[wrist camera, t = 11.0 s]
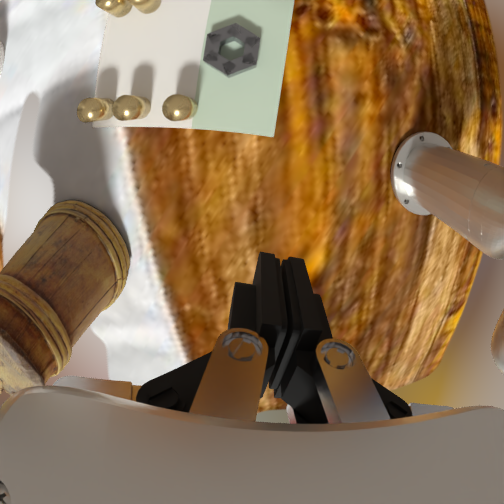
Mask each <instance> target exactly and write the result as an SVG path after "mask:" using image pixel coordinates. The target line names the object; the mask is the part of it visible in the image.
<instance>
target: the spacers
mask: <svg viewBox="0 0 504 504" xmlns="http://www.w3.org/2000/svg"><path fill="white" fill-rule="evenodd" d="M160 4H161V0H96V5H97V6H98V7H99V8H101V9H103V10H104V11H106V12H108V13H110V14H111V15H113V16H115V17H118V18H119V17H123V16H125V15H127V14H128V13H129V12H130V11H131V9H132V6H134V7H135V8H137V9H138V10H139V11H140V12H141V13H144V14H149V13H152V12H154V11H156V10H157V9H158V8H159V7H160ZM150 110H151V103H150V101H149V100H148V99H147V98H146V97H142V96H133V95H122V96H120V97H118V98H117V99H116V100H115V102H114V101H113V100H112V99H109V98H86V99H84V100H82V101H81V102H80V104H79V106H78V108H77V116H78V118H79V120H80V121H82V122H85V123H87V122H94V121H102V120H108V119H110V118H111V117H112V116H113V115H114V117H115V118H116V119H118V120H120V121H126V120H136V119H143V118H145V117H146V116H147V115H148V114H149V112H150ZM197 111H198V105H197V102H196V101H195V100H194V99H193V98H191V97H187V96H184V95H180V94H174V95H171V96H169V97H168V98H167V99H166V100H165V101H164V103H163V106H162V112H163V114H164V116H165V117H166V118H167V119H168V120H170V121H183V120H189V119H191V118H193V117H194V116H195V115H196V113H197Z"/></svg>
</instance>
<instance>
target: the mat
mask: <svg viewBox="0 0 504 504" xmlns="http://www.w3.org/2000/svg"><path fill="white" fill-rule="evenodd" d="M293 6H294V0H161V4H160V7H159V8H158V9H157V10H156V11H154V12H152V13H149V14H144V13H141V12H140V11H139V10H138V9H137V8H135V7H134V6H132V9H131V11H130V12H129V13H128V14H127V15H125V16H123V17H119V18H118V17H115V16H113V15H111V14H110V13H109V14H108V18H107V23H106V27H105V32H104V37H103V42H102V47H101V53H100V59H99V65H98V72H97V80H96V89H95V98H109V99H112V100H113V101H114V102H115V100H116V99H117V98H118V97H120V96H122V95H133V96H142V97H146V98H147V99H148V100H149V101H150V103H151V110H150V112H149V114H148V115H147V116H146V117H145V118H143V119H136V120H126V121H120V120H118V119H116V118H115V117H114V115H113V116H112V117H111V118H110V119H108V120H102V121H94V122H93V128H101V127H172V128H192V129H206V130H218V131H228V132H237V133H246V134H254V135H261V136H268V137H274V132H275V125H276V119H277V112H278V106H279V99H280V93H281V86H282V79H283V73H284V66H285V60H286V53H287V46H288V40H289V33H290V26H291V20H292V13H293ZM234 23H237V24H238V25H240V26H242V27H244V28H245V29H247V30H248V31H250V32H252V33H253V34H255V35H256V36H258V37H260V38H261V39H260V45H259V52H258V58H257V66H256V68H254V69H251V70H248V71H246V72H243V73H240V74H238V75H235V76H233V77H230V78H228V77H226V76H225V75H223V74H222V73H220V72H219V71H217V70H215V69H214V68H212V67H210V66H209V65H207V64H205V62H204V61H203V57H204V50H205V44H206V38H207V34H208V33H211V32H213V31H216V30H218V29H221V28H223V27H226V26H229V25H231V24H234ZM244 48H245V47H243V46H242V45H240V44H239V43H237V42H235V41H233V42H230V43H228V44H225V45H223V46H222V48H221V54H220V55H221V56H223V57H224V58H226V59H228V60H229V61H231V60H233V59H236V58H238V57H241V56H243V54H244ZM174 94H180V95H184V96H187V97H191V98H193V99H194V100H195V101H196V102H197V105H198V111H197V113H196V115H195V116H194V117H193V118H191V119H189V120H183V121H170V120H168V119H167V118H166V117H165V116H164V114H163V112H162V106H163V103H164V101H165V100H166V99H167V98H168V97H169V96H171V95H174Z"/></svg>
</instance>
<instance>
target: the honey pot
mask: <svg viewBox="0 0 504 504" xmlns="http://www.w3.org/2000/svg"><path fill="white" fill-rule="evenodd" d="M4 54H5V51H4V46H3V44H2V42H1V41H0V76H1V73H2V69H3V64H4Z"/></svg>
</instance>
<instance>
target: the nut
mask: <svg viewBox="0 0 504 504" xmlns="http://www.w3.org/2000/svg"><path fill="white" fill-rule="evenodd" d="M260 39H261V38H260V37H258V36H256V35H255V34H253V33H252V32H250V31H248V30H247V29H245V28H244V27H242V26H240V25H238V24H237V23H234V24H231V25H229V26H226V27H223V28H221V29H218V30H216V31H213V32H211V33H208V34H207V38H206V44H205V50H204V57H203V61H204V62H205V64H207V65H209V66H210V67H212V68H214V69H215V70H217V71H219V72H220V73H222V74H223V75H225V76H226V77H228V78H230V77H233V76H235V75H238V74H240V73H243V72H246V71H248V70H251V69H254V68H256V66H257V58H258V52H259V45H260ZM233 41H235V42H237V43H239V44H240V45H242V46H243V47H245V48H244V54H243V56H241V57H238V58H236V59H233V60H231V61H229V60H228V59H226V58H224V57H223V56H221V55H220V54H221V48H222V46H223V45H225V44H228V43H230V42H233Z"/></svg>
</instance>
